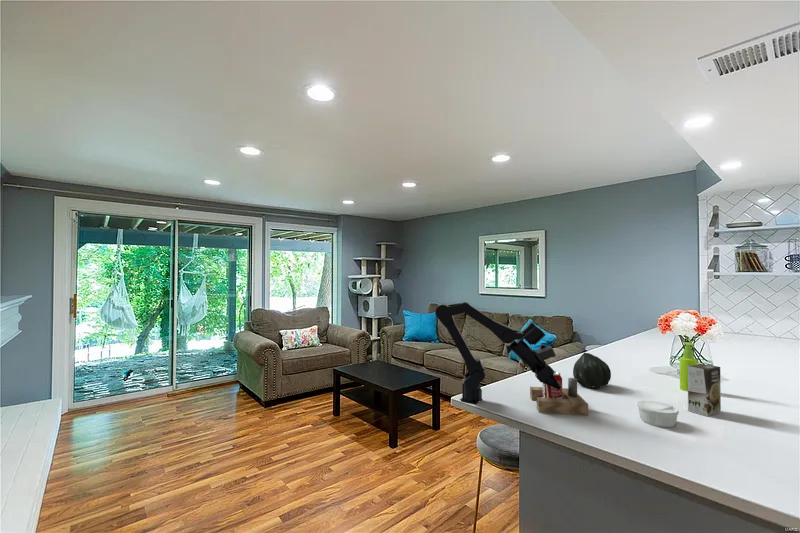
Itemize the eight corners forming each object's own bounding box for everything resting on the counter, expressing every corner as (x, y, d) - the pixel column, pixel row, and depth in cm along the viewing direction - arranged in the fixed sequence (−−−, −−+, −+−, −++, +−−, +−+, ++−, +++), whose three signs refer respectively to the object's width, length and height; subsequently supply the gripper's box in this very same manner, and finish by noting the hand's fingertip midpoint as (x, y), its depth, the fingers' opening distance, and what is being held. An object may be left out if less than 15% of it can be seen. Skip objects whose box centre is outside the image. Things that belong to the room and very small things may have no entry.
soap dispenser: (683, 391, 155) (682, 343, 156) (678, 387, 162) (677, 340, 162) (700, 393, 153) (700, 344, 154) (694, 388, 160) (694, 341, 160)
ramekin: (680, 432, 115) (680, 415, 115) (637, 424, 121) (637, 408, 121) (676, 420, 125) (676, 404, 125) (637, 413, 131) (637, 398, 131)
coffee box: (708, 417, 128) (708, 369, 128) (687, 410, 133) (686, 365, 134) (721, 412, 132) (721, 366, 132) (700, 406, 138) (700, 362, 138)
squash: (624, 375, 159) (599, 345, 167) (606, 382, 150) (581, 350, 159) (599, 391, 168) (577, 362, 176) (581, 399, 159) (559, 367, 168)
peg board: (539, 412, 131) (539, 383, 131) (530, 396, 148) (530, 371, 148) (587, 415, 128) (587, 386, 128) (573, 399, 145) (573, 373, 145)
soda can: (566, 407, 136) (566, 374, 136) (551, 409, 134) (551, 375, 134) (552, 401, 142) (552, 369, 143) (538, 403, 140) (538, 371, 140)
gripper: (547, 343, 130) (581, 377, 128) (536, 334, 148) (565, 364, 146) (523, 365, 131) (556, 398, 129) (515, 354, 150) (544, 383, 148)
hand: (556, 384), depth 138 cm, fingers open, 9 cm apart
